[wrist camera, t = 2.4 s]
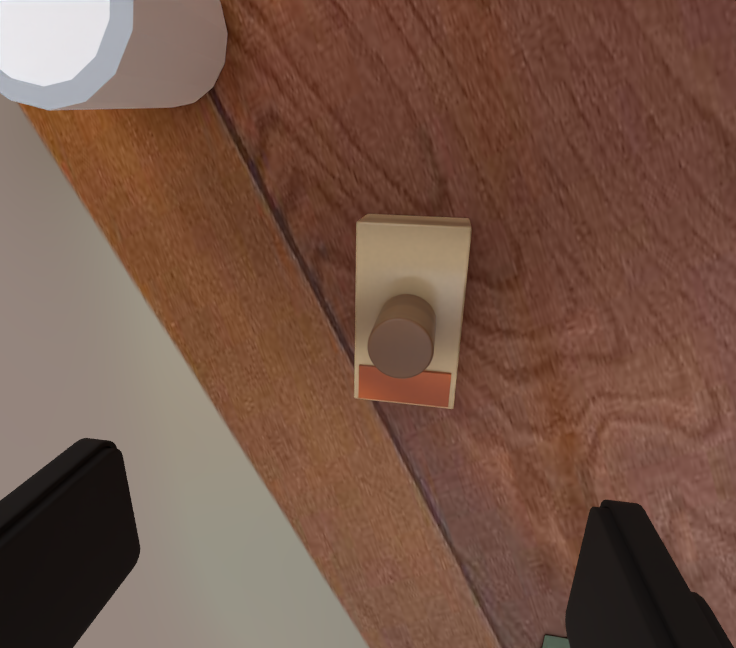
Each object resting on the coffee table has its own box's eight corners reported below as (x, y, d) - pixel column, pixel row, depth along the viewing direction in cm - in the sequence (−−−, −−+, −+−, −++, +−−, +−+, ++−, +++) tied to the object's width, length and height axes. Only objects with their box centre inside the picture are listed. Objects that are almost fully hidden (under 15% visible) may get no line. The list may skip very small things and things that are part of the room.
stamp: (366, 213, 20) (338, 234, 15) (469, 218, 20) (476, 241, 15) (363, 374, 23) (338, 436, 18) (453, 383, 23) (453, 450, 18)
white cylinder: (148, -115, 17) (-30, -270, 11) (275, 33, 18) (180, -30, 12) (61, 33, 20) (-126, -23, 13) (177, 156, 21) (55, 159, 14)
